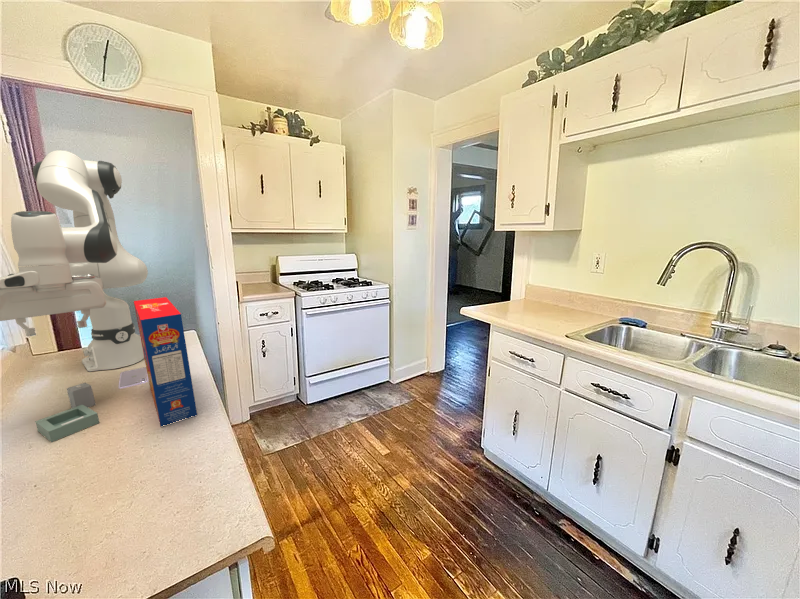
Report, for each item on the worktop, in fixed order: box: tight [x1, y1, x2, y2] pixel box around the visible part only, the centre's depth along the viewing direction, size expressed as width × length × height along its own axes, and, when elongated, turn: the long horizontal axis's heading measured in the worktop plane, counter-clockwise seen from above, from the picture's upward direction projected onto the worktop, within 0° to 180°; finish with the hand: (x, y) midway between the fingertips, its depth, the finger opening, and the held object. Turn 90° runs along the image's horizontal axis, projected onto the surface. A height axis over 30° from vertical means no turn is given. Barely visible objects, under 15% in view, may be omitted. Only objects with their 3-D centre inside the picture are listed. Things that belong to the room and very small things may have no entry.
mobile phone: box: [118, 366, 149, 389], centre depth 112 cm, size 8×1×15 cm
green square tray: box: [35, 405, 100, 443], centre depth 84 cm, size 9×9×3 cm
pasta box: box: [133, 296, 198, 427], centre depth 94 cm, size 28×8×28 cm, turn 41°
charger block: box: [66, 382, 96, 409], centre depth 94 cm, size 4×4×6 cm
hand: (58, 331), depth 85 cm, fingers open, 8 cm apart
